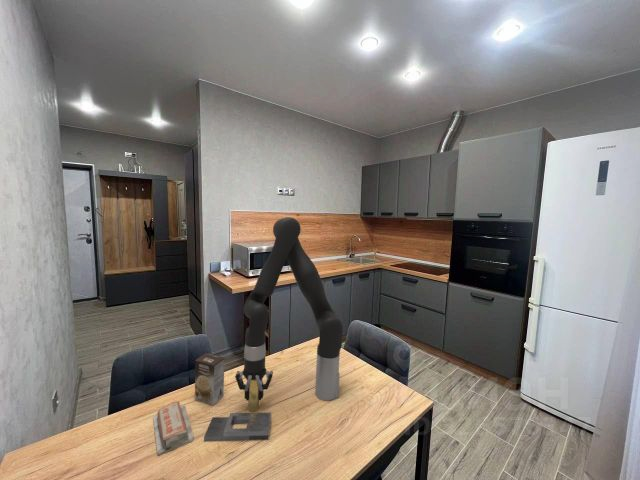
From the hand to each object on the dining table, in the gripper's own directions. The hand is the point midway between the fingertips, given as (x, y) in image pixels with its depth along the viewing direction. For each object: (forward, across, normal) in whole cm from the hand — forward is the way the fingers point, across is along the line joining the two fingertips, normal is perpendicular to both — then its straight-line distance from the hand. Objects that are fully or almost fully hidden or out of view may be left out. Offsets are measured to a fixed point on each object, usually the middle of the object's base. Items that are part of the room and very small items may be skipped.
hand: (253, 398), depth 97 cm
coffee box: (+4, +18, -6) cm, 19 cm away
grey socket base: (+4, +3, +10) cm, 11 cm away
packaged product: (+4, +25, +9) cm, 27 cm away
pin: (+4, 0, 0) cm, 4 cm away
